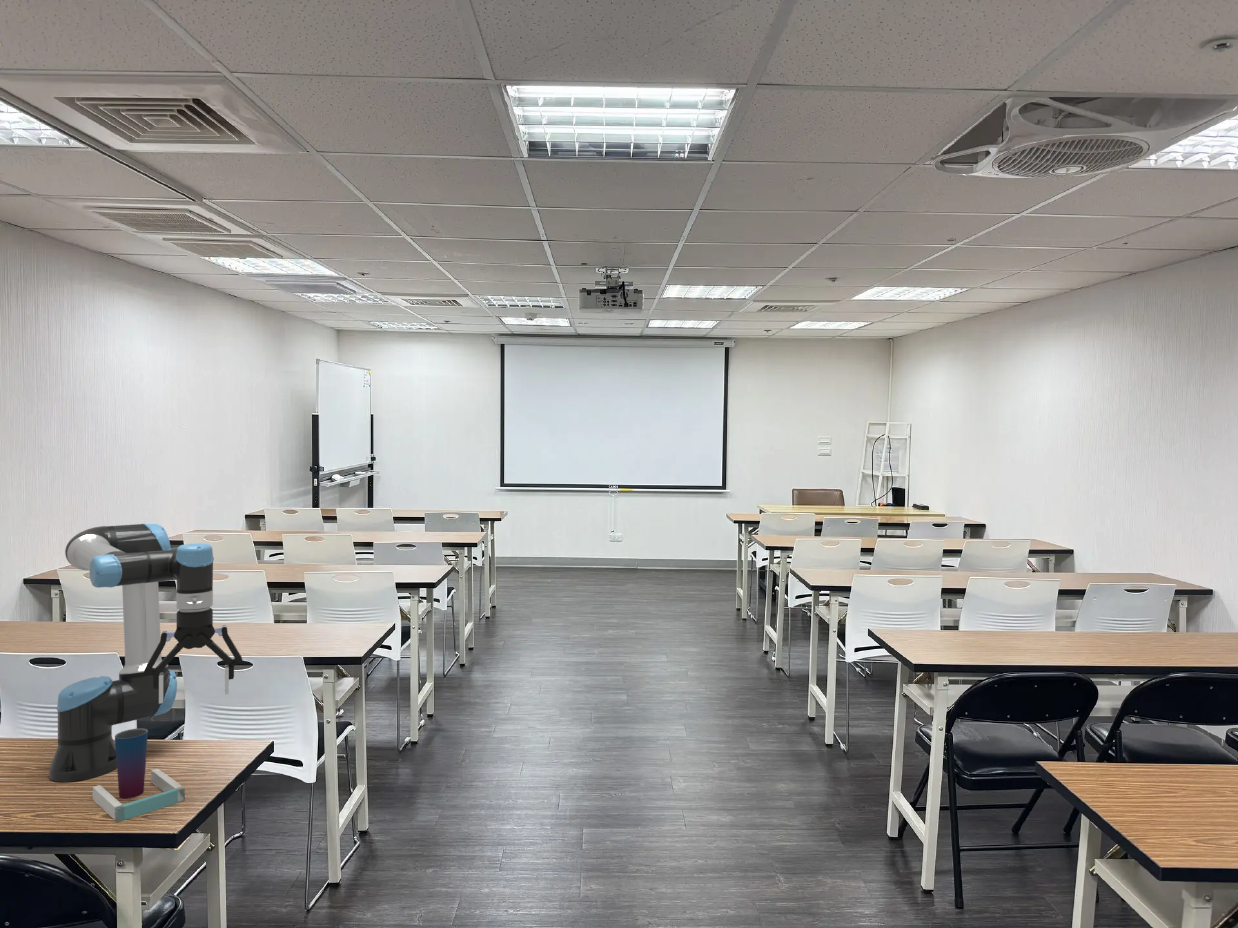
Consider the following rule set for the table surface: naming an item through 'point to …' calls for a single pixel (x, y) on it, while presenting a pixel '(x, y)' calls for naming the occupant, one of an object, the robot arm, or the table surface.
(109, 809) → the bay
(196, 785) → the table surface
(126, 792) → the cup
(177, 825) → the table surface
